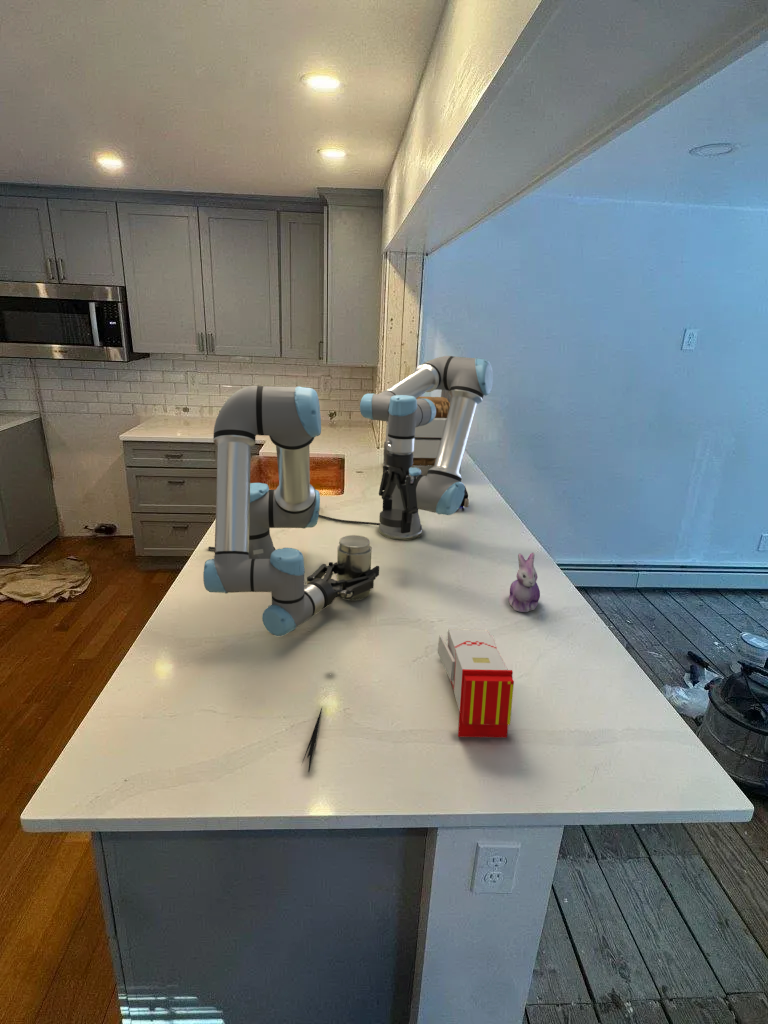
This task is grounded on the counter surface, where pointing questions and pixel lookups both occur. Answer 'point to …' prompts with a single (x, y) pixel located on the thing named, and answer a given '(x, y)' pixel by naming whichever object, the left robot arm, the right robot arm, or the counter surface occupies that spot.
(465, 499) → the figurine character
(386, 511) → the lid
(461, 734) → the toy
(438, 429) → the transformer
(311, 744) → the feather
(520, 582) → the figurine
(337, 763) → the counter surface
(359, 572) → the jar
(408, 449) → the right robot arm
